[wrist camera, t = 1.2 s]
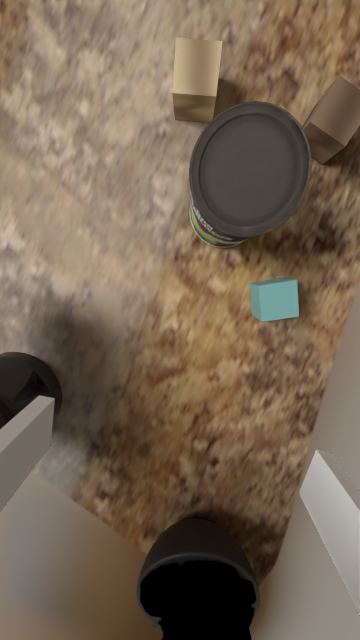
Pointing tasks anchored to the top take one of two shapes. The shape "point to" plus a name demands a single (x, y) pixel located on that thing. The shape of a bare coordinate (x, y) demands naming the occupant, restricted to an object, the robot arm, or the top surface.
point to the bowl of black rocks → (198, 584)
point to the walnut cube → (333, 120)
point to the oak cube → (195, 79)
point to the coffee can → (247, 173)
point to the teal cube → (274, 299)
